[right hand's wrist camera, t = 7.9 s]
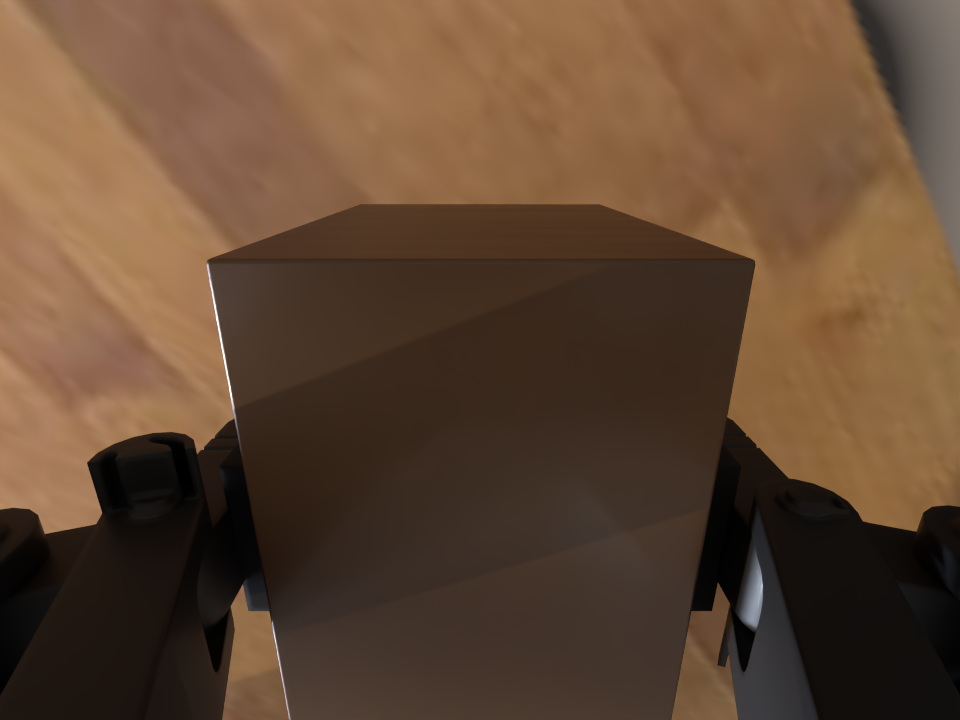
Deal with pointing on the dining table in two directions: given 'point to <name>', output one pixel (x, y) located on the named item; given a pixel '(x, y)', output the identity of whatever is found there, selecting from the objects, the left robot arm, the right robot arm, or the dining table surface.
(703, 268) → the post
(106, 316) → the dining table surface
